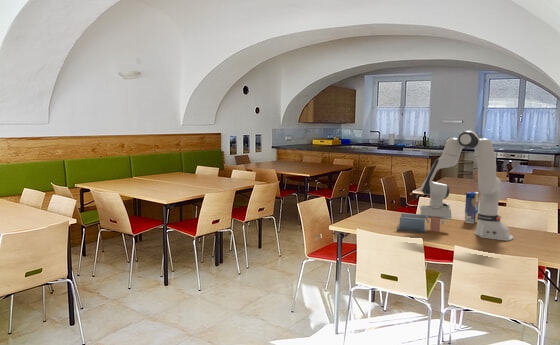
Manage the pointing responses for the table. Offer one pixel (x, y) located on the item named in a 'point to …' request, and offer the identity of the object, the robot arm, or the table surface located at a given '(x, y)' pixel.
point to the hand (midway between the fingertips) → (435, 223)
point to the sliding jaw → (412, 216)
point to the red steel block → (435, 224)
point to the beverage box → (471, 207)
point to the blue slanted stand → (411, 225)
